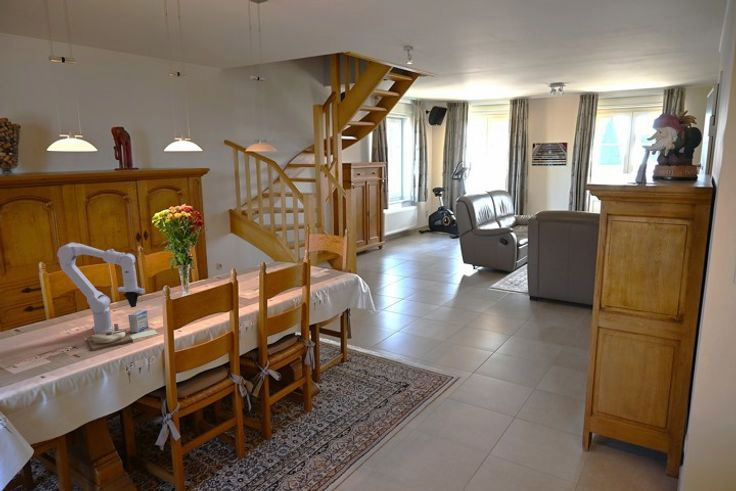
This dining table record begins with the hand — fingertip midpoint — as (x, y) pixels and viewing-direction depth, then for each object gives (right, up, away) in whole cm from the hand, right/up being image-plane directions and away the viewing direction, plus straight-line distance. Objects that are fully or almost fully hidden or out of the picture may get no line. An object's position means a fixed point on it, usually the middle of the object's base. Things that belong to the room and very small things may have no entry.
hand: (133, 306), depth 237 cm
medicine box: (+4, -11, -2) cm, 12 cm away
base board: (-3, -13, -15) cm, 21 cm away
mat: (+8, -12, -8) cm, 17 cm away
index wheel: (-3, -12, -16) cm, 20 cm away
